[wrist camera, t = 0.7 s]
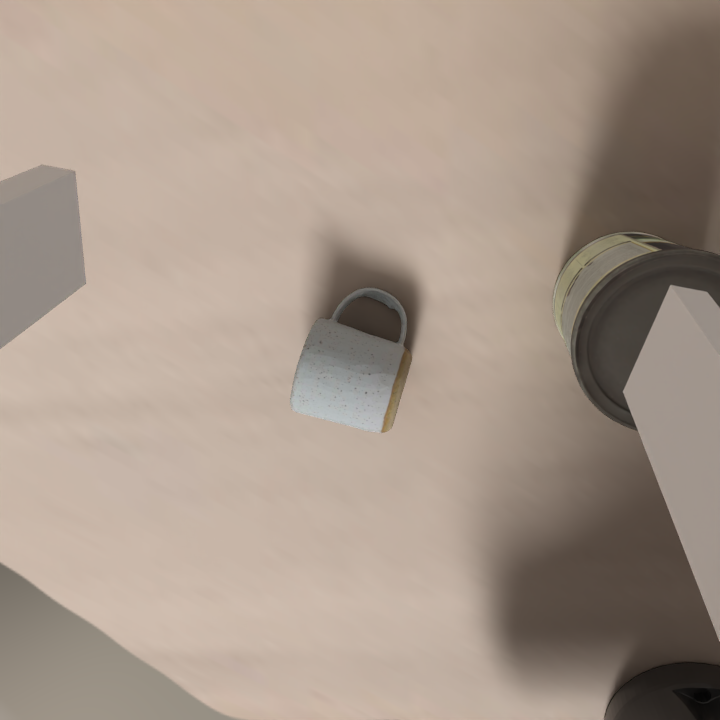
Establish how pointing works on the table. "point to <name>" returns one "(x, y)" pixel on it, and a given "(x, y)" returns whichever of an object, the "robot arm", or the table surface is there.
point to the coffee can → (621, 307)
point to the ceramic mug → (352, 371)
